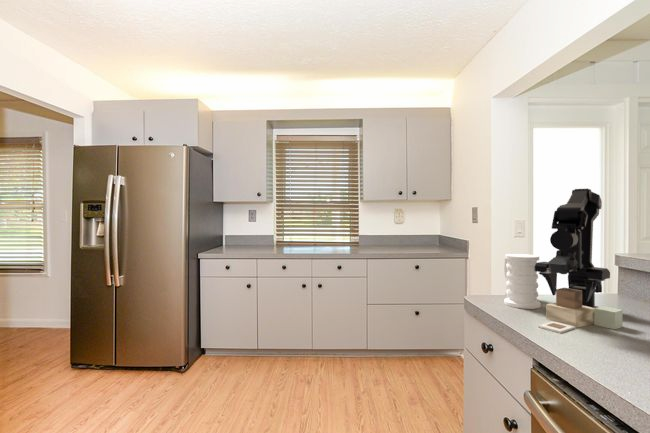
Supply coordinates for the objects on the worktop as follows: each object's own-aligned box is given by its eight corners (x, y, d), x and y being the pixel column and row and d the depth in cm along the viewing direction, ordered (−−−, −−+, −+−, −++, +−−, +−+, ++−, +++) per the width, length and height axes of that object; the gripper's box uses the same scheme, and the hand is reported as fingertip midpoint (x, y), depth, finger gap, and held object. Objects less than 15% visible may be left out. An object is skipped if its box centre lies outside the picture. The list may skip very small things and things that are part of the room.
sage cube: (602, 322, 108) (602, 306, 108) (622, 326, 104) (622, 309, 104) (594, 325, 105) (594, 308, 105) (615, 329, 101) (615, 312, 101)
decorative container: (507, 299, 137) (506, 253, 137) (542, 303, 130) (541, 254, 130) (501, 305, 127) (501, 256, 127) (539, 310, 121) (538, 258, 120)
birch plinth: (565, 316, 115) (565, 301, 115) (595, 324, 106) (595, 308, 106) (546, 320, 111) (546, 304, 111) (575, 328, 103) (575, 311, 103)
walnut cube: (564, 303, 112) (564, 287, 112) (582, 306, 108) (582, 290, 108) (556, 305, 110) (556, 289, 110) (574, 309, 105) (574, 292, 105)
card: (552, 322, 107) (552, 320, 107) (574, 328, 102) (574, 326, 102) (538, 327, 103) (538, 325, 103) (560, 333, 98) (560, 331, 98)
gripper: (524, 246, 113) (524, 295, 113) (592, 251, 96) (592, 308, 97) (543, 244, 118) (543, 291, 118) (610, 249, 102) (610, 303, 102)
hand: (570, 298), depth 109 cm, fingers open, 9 cm apart
